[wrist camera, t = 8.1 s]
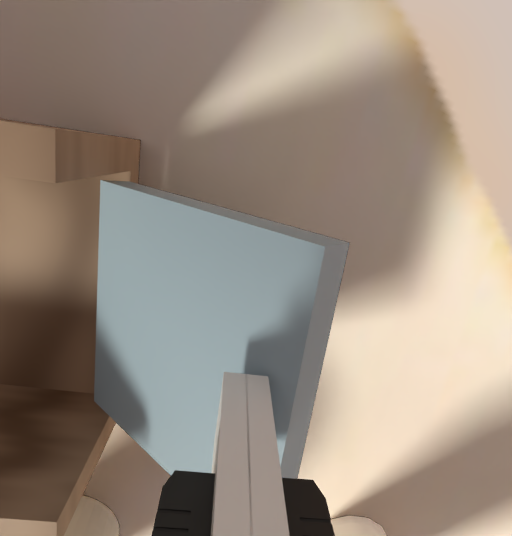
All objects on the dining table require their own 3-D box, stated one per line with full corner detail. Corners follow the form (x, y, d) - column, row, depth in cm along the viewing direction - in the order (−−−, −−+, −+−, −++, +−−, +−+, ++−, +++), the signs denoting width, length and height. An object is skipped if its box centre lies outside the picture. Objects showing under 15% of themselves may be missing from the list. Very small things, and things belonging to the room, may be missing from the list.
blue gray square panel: (94, 400, 21) (260, 562, 14) (100, 180, 18) (325, 246, 11) (131, 385, 23) (295, 523, 16) (143, 182, 19) (361, 240, 12)
